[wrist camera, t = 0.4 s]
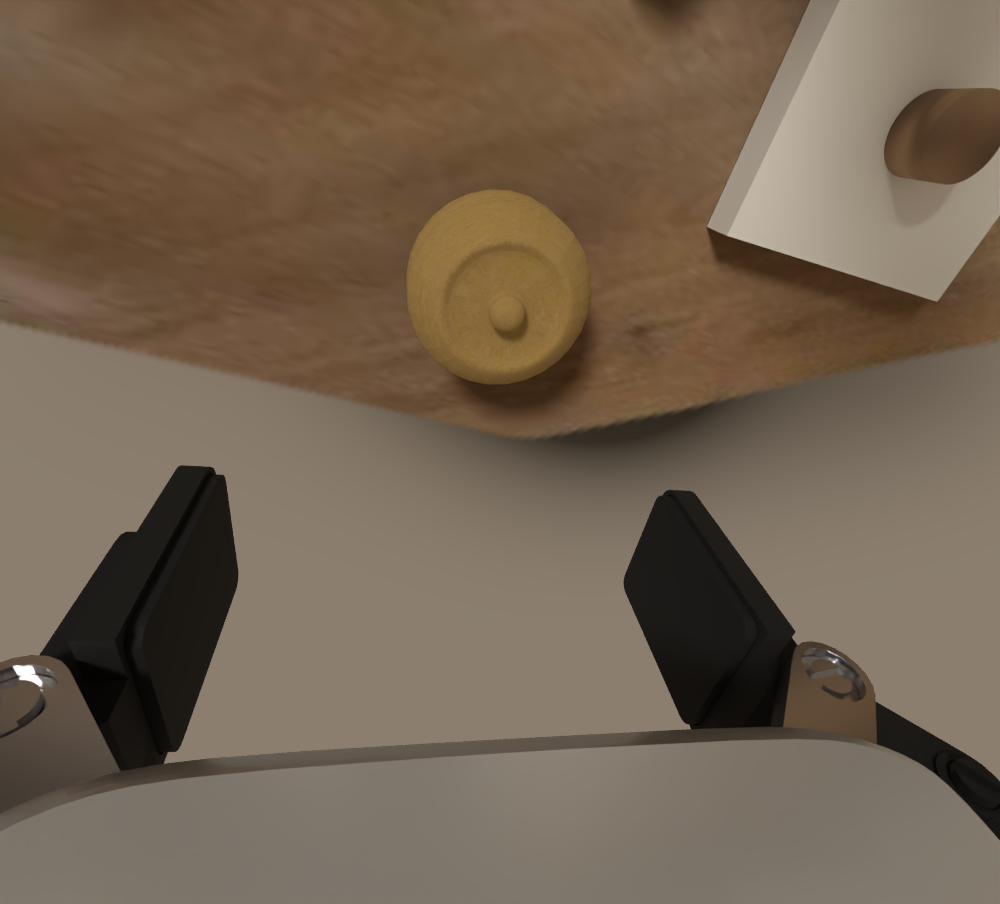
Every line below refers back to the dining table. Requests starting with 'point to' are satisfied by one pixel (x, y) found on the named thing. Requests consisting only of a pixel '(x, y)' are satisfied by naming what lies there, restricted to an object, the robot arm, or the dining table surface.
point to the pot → (497, 287)
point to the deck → (866, 144)
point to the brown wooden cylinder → (944, 135)
